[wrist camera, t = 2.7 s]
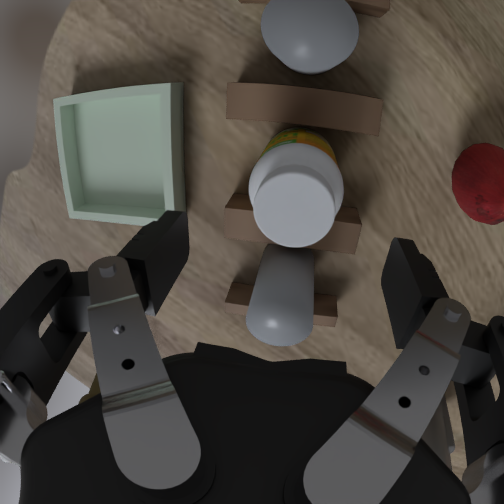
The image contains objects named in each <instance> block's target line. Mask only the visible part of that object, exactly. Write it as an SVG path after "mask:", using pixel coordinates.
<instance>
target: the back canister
mask: <svg viewBox="0 0 504 504" xmlns="http://www.w3.org/2000/svg"><path fill="white" fill-rule="evenodd" d="M313 310H314V256H313V253H312V251H311V249H310V248H302V247H287V246H283V245H278V244H269V245H268V246H267V247H266V248H265V250H264V252H263V255H262V259H261V263H260V266H259V270H258V274H257V278H256V281H255V285H254V289H253V293H252V296H251V300H250V304H249V307H248V311H247V315H246V325H247V327H248V329H249V331H250V332H251V334H252V335H253V336H255V337H256V338H257V339H259V340H260V341H262V342H264V343H267V344H270V345H275V346H289V345H294V344H297V343H299V342H301V341H303V340H304V339H306V338H307V337H308V336H309V334H310V333H311V331H312V328H313Z"/></svg>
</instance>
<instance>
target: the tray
mask: <svg viewBox="0 0 504 504" xmlns="http://www.w3.org/2000/svg"><path fill="white" fill-rule="evenodd" d="M183 92H184V82H176V83H160V84H147V85H137V86H127V87H119V88H111V89H104V90H98V91H92V92H86V93H80V94H75V95H70V96H65V97H60V98H56V99H53V102H54V116H55V128H56V138H57V147H58V155H59V162H60V169H61V175H62V181H63V187H64V193H65V198H66V203H67V208H68V213H69V218H75V219H85V220H94V221H104V222H113V223H122V224H132V225H141V226H145V225H147V224H149V223H150V222H152V221H157V220H158V219H159V218H160V217H161V216H162V215H163V214H164V212H165V211H166V210H174V211H185V212H186V199H185V174H184V128H183Z"/></svg>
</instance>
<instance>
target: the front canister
mask: <svg viewBox="0 0 504 504" xmlns="http://www.w3.org/2000/svg"><path fill="white" fill-rule="evenodd" d="M261 31H262V36H263V39H264V41H265V43H266V45H267V46H268V48H269V49H270V51H271V52H272V53H273V54H274V55H275V56H276V57H277V58H279V59H280V60H281V61H282V62H283V63H284V64H285V65H286V66H287V67H289V68H290V69H292V70H293V71H295V72H298V73H301V74H305V75H316V74H321V73H324V72H326V71H328V70H330V69H331V68H333V67H335V66H336V65H338V64H340V63H341V62H343V61H344V60H345V59H346V58H348V57H349V55H350V54H351V53H352V52H353V50H354V49H355V46H356V44H357V41H358V37H359V26H358V21H357V18H356V15H355V13H354V11H353V10H352V8H351V7H350V6H349V4H348V3H347V2H346V1H345V0H270V2H269V3H268V4H267V6H266V7H265V9H264V11H263V14H262V18H261Z"/></svg>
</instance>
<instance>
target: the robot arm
mask: <svg viewBox="0 0 504 504" xmlns="http://www.w3.org/2000/svg"><path fill="white" fill-rule="evenodd" d="M188 256H189V232H188V217H187V213H186V212H185V211H174V210H166V211H165V212H164V214H163V215H162V216H161V217H160V218H159V219H158V220H157V221H152V222H150V223H149V224H147V225H145V226H143V227H142V228H141V229H140V231H139V232H138V233H137V235H135V236H134V237H133V238H132V240H130V241H129V242H128V243H127V245H126V246H125V247H124V248H123V249H122V250H121V251H120V252H119V253H118V255H117V256H108V257H103V258H101V259H98V260H96V261H95V262H93V263H92V264H91V265H90V267H89V268H88V271H84V272H70V269H69V266H68V263H67V262H66V261H64V260H61V259H55V260H50V261H47V262H45V263H43V264H42V265H40V266H39V267H38V268H37V269H36V270H35V271H34V272H33V273H32V274H31V275H30V276H29V277H28V278H27V280H26V281H25V282H24V283H23V284H22V285H21V286H20V287H19V288H18V290H17V291H16V292H15V293H14V294H13V295H12V296H11V298H10V299H9V300H8V301H7V302H6V303H5V305H4V306H3V307H2V308H1V309H0V459H1V460H2V461H4V462H7V463H15V464H16V465H18V466H19V467H20V468H21V490H20V500H19V504H504V317H503V316H494V317H493V318H492V319H491V320H490V322H489V324H488V325H487V326H485V325H482V324H480V323H477V322H474V321H471V316H470V313H469V311H468V310H467V308H466V307H465V306H464V305H463V304H461V303H460V302H458V301H456V300H454V299H451V298H449V296H448V294H447V292H446V290H445V288H444V286H443V284H442V282H441V280H440V279H439V276H438V274H437V272H436V270H435V268H434V266H433V264H432V262H431V261H430V260H429V259H428V258H427V257H426V256H425V255H423V254H420V252H419V250H418V249H417V247H416V245H415V243H414V241H413V240H410V239H403V238H396V237H395V238H394V239H393V240H392V242H391V246H390V249H389V252H388V256H387V259H386V262H385V265H384V268H383V272H382V277H381V286H382V290H383V294H384V298H385V302H386V305H387V309H388V313H389V318H390V322H391V326H392V330H393V335H394V339H395V344H396V349H403V351H402V352H401V354H400V355H399V357H398V358H397V359H396V361H395V362H394V364H393V365H392V366H391V368H390V369H389V370H388V372H387V373H386V374H385V376H384V377H383V378H382V380H381V381H380V382H379V384H378V385H377V386H376V387H373V386H372V385H371V384H369V383H368V382H366V381H364V380H362V379H361V378H359V377H356V376H354V375H351V374H348V373H347V368H346V362H342V361H330V360H319V359H301V360H290V361H277V362H271V361H267V360H264V359H261V358H258V357H255V356H253V355H250V354H247V353H245V352H242V351H239V350H237V349H234V348H229V347H223V346H217V345H211V344H206V343H200V342H198V343H197V346H196V349H195V351H194V352H193V353H182V354H176V355H172V356H169V357H166V358H163V359H161V356H160V354H159V351H158V349H157V346H156V343H155V341H154V338H153V335H152V333H151V330H150V327H149V324H148V321H147V318H146V316H145V314H147V315H152V316H156V314H157V312H158V311H159V309H160V307H161V305H162V304H163V302H164V300H165V298H166V296H167V295H168V293H169V291H170V290H171V288H172V286H173V284H174V283H175V281H176V279H177V277H178V276H179V274H180V272H181V271H182V269H183V267H184V265H185V264H186V262H187V260H188ZM48 313H49V314H50V316H51V318H52V323H51V324H50V325H49V327H48V328H47V330H46V331H45V333H44V334H43V336H42V337H41V338H39V326H40V324H41V322H42V321H43V320H44V318H45V317H46V315H47V314H48ZM87 332H90V335H91V342H92V348H93V354H94V360H95V366H96V371H97V376H98V381H99V386H100V391H101V393H99V394H97V395H95V396H93V397H91V398H89V399H87V400H86V401H84V402H82V403H80V404H78V405H76V406H74V407H72V408H71V409H68V410H67V411H65V412H63V413H61V414H59V415H57V416H55V417H53V418H51V419H49V420H47V408H46V405H47V404H48V402H49V400H50V398H51V396H52V394H53V392H54V390H55V388H56V386H57V385H58V383H59V381H60V379H61V377H62V376H63V374H64V372H65V370H66V368H67V367H68V365H69V363H70V361H71V360H72V358H73V356H74V354H75V353H76V351H77V349H78V348H79V346H80V344H81V342H82V341H83V339H84V337H85V336H86V334H87ZM495 374H496V376H497V379H498V382H499V385H500V393H499V397H498V399H497V401H495V397H494V394H493V390H492V386H491V383H490V380H491V379H492V378H493V377H494V375H495ZM450 380H452V381H454V385H455V390H456V395H457V400H458V405H459V410H460V416H461V422H462V428H463V435H464V442H465V450H466V459H467V468H466V469H465V471H464V473H463V476H462V482H461V481H460V480H459V478H458V477H457V476H456V475H455V474H454V473H453V472H452V465H451V457H450V454H451V453H452V452H453V451H454V450H455V443H454V437H453V432H452V427H451V422H450V417H449V412H448V408H447V403H446V399H445V395H444V393H445V391H446V389H447V387H448V385H449V383H450ZM46 420H47V421H46Z"/></svg>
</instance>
